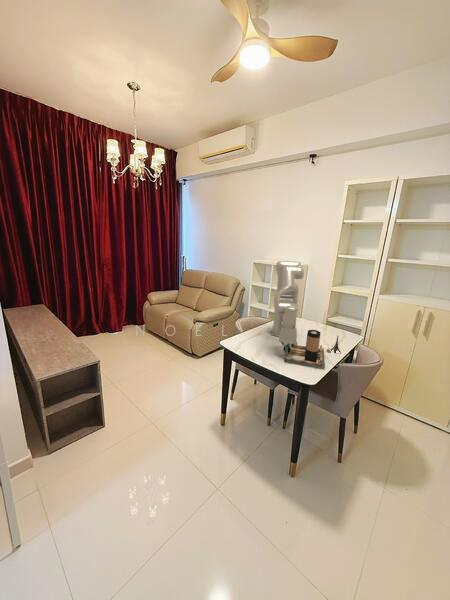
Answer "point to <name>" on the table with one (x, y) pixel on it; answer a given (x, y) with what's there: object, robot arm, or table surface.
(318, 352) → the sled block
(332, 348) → the eiffel tower figurine
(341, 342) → the table surface
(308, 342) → the travel mug
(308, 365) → the lane frame
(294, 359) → the brown low piece
